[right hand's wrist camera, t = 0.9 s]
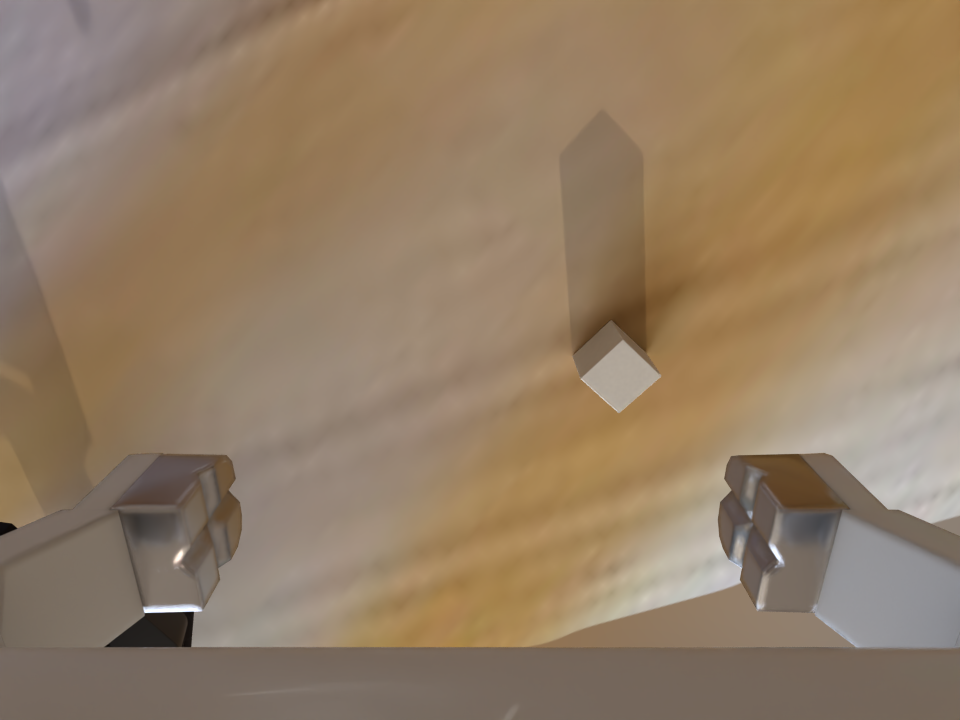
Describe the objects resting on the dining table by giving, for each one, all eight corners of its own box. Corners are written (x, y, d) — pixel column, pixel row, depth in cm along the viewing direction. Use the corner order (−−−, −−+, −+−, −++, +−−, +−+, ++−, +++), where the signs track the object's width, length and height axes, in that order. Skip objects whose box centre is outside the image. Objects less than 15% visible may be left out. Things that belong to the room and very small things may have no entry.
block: (607, 388, 54) (619, 413, 50) (571, 355, 53) (580, 378, 48) (647, 353, 53) (661, 376, 48) (611, 319, 51) (623, 339, 47)
